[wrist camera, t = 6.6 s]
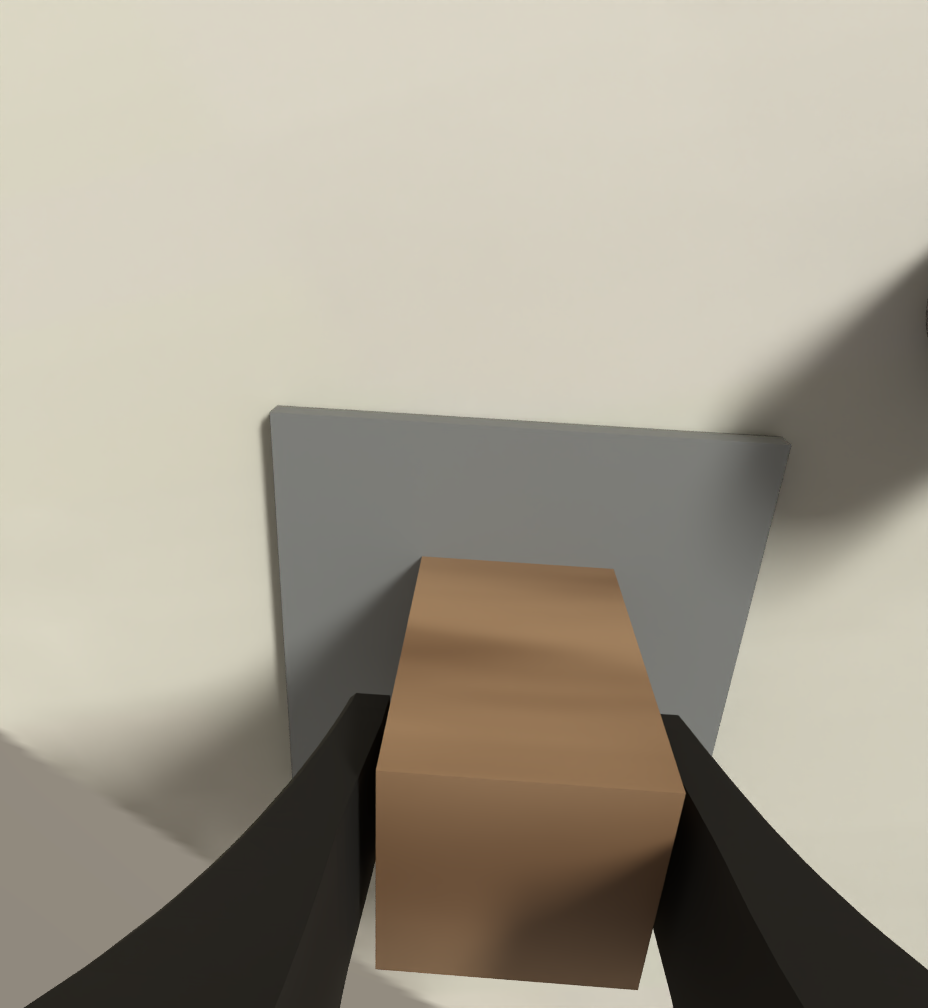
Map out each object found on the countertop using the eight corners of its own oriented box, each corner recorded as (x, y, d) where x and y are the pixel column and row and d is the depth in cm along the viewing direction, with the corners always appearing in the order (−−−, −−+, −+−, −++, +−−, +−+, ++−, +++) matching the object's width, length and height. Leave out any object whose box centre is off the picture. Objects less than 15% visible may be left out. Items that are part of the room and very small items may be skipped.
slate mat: (688, 811, 17) (693, 827, 17) (298, 783, 18) (293, 798, 17) (781, 436, 14) (791, 444, 13) (277, 405, 14) (269, 412, 13)
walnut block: (588, 718, 16) (638, 990, 10) (417, 706, 16) (375, 969, 10) (613, 567, 14) (686, 793, 9) (422, 554, 14) (375, 771, 9)
